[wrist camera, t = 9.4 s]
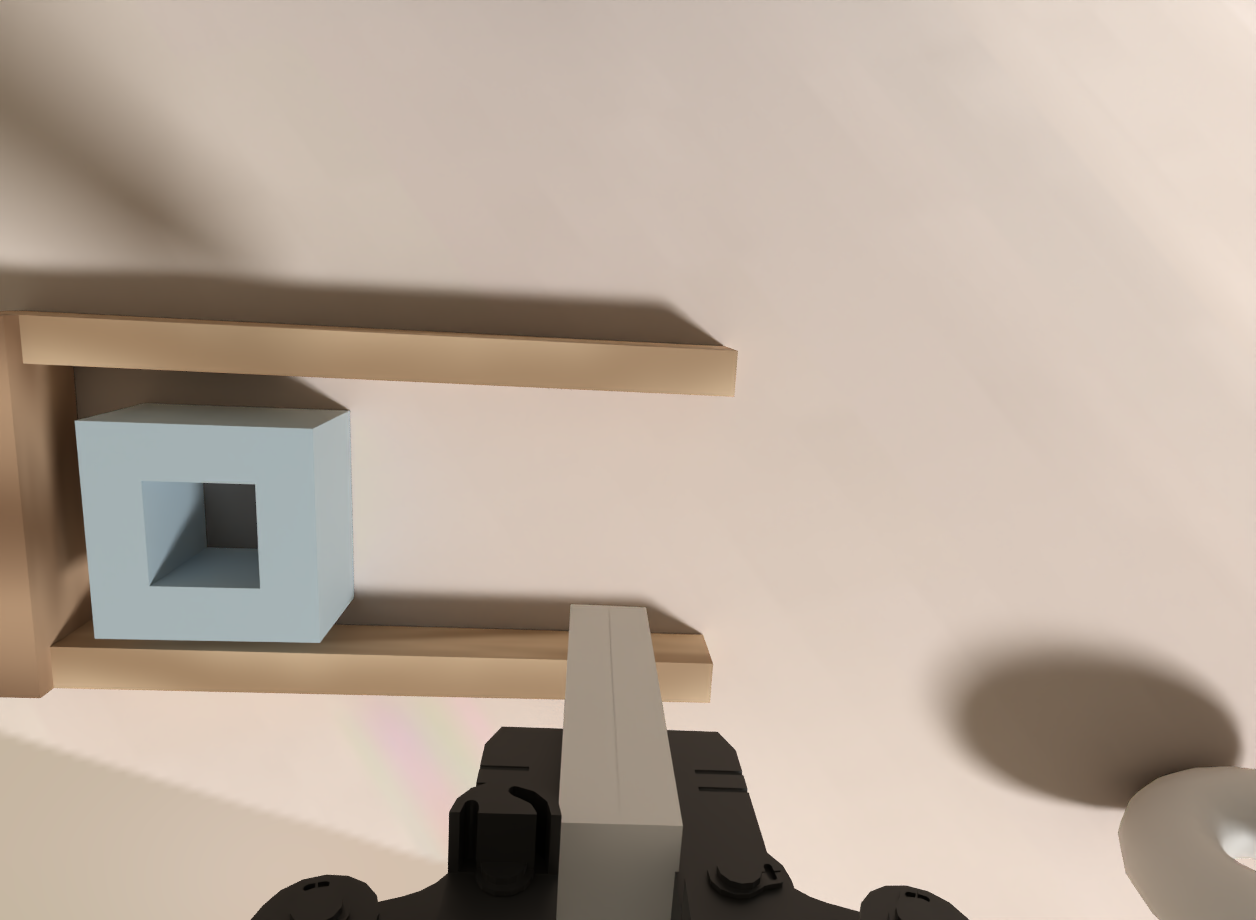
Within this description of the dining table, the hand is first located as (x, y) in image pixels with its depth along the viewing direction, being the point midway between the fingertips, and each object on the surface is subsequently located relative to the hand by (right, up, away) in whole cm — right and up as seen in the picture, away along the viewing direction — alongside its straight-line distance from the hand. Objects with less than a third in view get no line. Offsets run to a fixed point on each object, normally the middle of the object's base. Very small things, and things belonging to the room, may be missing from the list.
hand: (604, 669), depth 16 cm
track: (-8, +3, +13) cm, 16 cm away
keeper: (-13, +3, +13) cm, 19 cm away
